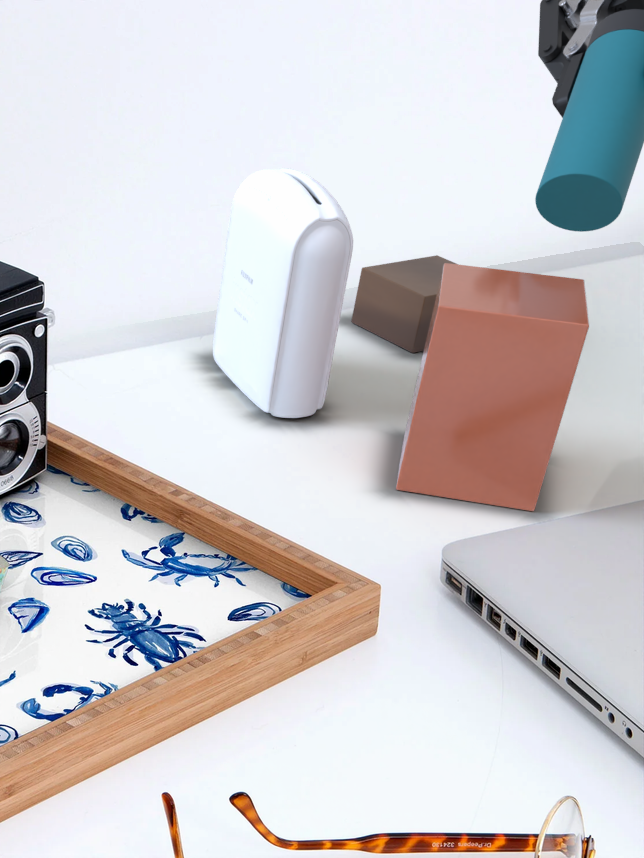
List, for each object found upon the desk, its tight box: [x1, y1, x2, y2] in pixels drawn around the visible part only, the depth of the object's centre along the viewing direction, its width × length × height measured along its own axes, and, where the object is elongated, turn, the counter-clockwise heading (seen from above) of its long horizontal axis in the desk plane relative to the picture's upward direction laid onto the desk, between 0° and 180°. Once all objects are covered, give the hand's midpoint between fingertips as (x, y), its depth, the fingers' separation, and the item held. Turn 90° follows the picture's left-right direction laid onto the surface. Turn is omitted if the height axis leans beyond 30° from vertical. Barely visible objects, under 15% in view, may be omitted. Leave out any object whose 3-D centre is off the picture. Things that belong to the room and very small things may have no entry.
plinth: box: [395, 263, 590, 512], centre depth 76 cm, size 7×7×10 cm
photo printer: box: [212, 167, 354, 419], centre depth 85 cm, size 10×4×12 cm, turn 11°
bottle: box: [534, 9, 644, 233], centre depth 83 cm, size 12×5×5 cm
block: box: [350, 254, 460, 354], centre depth 96 cm, size 6×6×4 cm
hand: (613, 100), depth 84 cm, fingers closed on bottle, 4 cm apart
